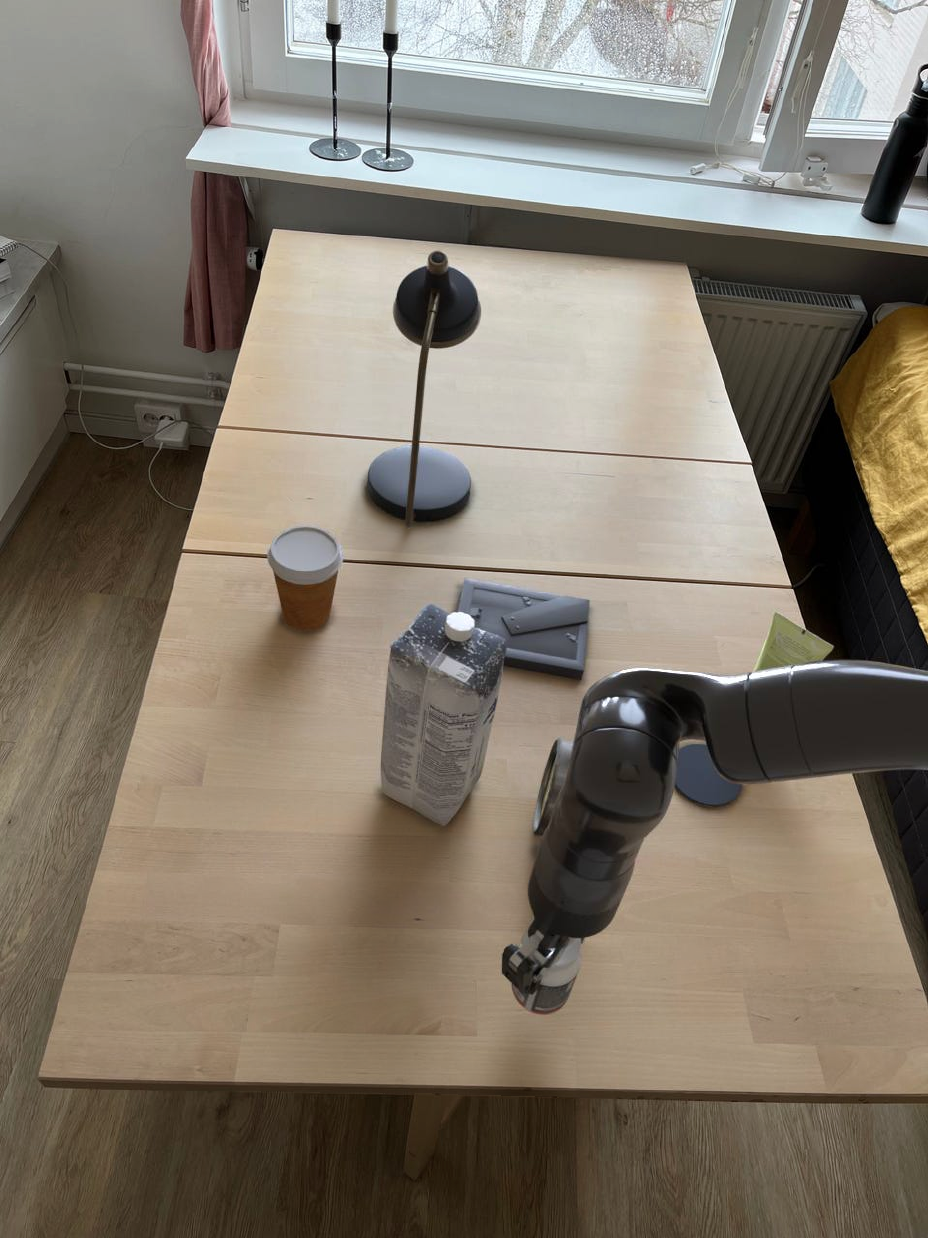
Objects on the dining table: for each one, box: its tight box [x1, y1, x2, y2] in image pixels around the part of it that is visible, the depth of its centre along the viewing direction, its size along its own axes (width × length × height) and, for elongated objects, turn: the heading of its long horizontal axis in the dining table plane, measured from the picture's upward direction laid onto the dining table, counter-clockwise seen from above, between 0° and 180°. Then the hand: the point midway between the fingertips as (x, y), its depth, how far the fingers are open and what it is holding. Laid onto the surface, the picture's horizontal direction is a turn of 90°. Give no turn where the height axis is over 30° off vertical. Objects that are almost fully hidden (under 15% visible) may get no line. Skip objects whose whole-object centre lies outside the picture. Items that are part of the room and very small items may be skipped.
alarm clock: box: [532, 737, 574, 837], centre depth 106 cm, size 11×5×16 cm, turn 168°
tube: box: [752, 611, 835, 672], centre depth 117 cm, size 6×5×20 cm
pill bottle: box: [510, 938, 582, 1016], centre depth 90 cm, size 6×6×10 cm
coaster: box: [674, 743, 743, 808], centre depth 118 cm, size 9×9×1 cm
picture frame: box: [456, 577, 591, 681], centre depth 131 cm, size 13×2×18 cm
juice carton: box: [380, 603, 506, 827], centre depth 103 cm, size 9×10×27 cm
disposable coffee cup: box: [266, 524, 344, 631], centre depth 126 cm, size 10×10×12 cm
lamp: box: [366, 250, 482, 529], centre depth 136 cm, size 16×22×38 cm
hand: (548, 961), depth 89 cm, fingers closed on pill bottle, 5 cm apart
